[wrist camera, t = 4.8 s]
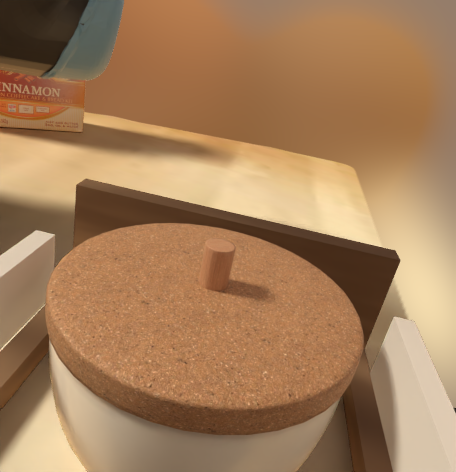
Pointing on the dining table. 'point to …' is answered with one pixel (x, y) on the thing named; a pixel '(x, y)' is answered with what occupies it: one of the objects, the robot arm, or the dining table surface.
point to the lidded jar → (195, 351)
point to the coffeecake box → (41, 102)
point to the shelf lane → (290, 238)
